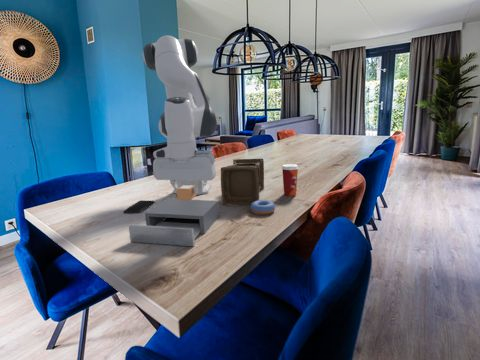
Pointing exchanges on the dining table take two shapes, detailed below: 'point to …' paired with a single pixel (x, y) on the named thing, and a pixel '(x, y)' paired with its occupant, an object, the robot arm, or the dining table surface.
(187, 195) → the block
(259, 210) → the doughnut
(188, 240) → the tray
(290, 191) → the paper cup
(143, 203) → the phone
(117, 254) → the dining table surface
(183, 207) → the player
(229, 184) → the ornamental box
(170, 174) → the robot arm
